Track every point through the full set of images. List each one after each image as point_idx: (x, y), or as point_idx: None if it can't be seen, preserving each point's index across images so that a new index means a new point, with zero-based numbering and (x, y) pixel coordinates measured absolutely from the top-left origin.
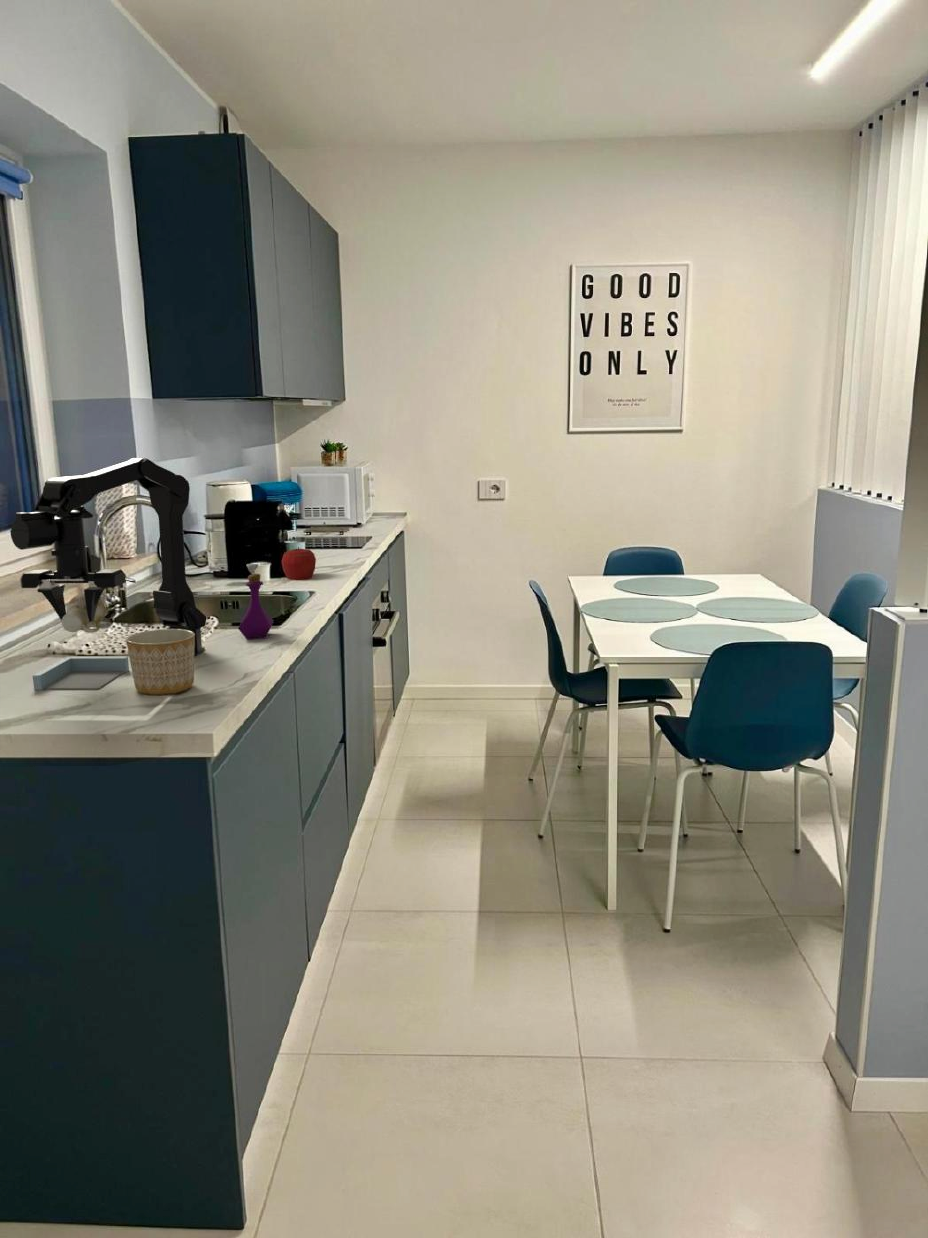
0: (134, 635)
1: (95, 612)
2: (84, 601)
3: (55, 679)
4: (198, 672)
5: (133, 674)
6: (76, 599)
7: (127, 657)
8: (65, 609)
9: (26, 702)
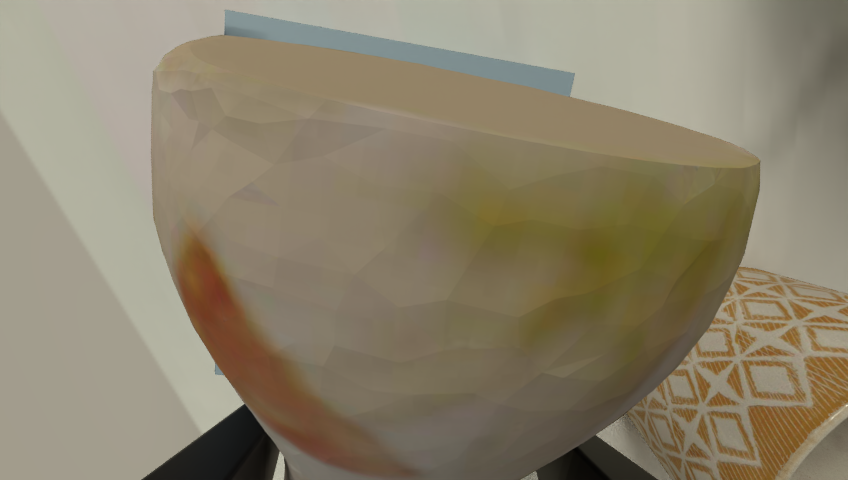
0: (791, 472)
1: (625, 462)
2: (531, 471)
3: None
4: (820, 161)
5: (650, 446)
6: (371, 456)
7: (571, 78)
8: (244, 464)
9: (279, 468)
